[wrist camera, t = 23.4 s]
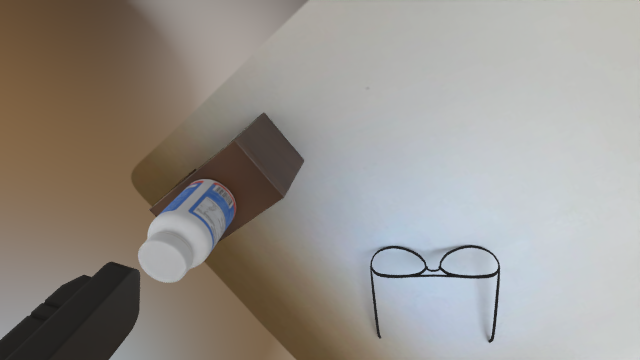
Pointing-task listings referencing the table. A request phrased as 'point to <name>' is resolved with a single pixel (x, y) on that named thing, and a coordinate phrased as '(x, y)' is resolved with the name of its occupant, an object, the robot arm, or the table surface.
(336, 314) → the table surface
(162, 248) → the pill bottle
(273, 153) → the walnut shelf
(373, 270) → the glasses
